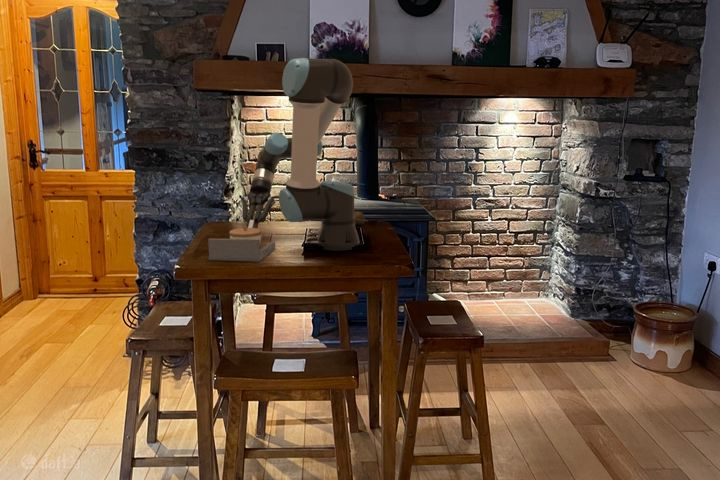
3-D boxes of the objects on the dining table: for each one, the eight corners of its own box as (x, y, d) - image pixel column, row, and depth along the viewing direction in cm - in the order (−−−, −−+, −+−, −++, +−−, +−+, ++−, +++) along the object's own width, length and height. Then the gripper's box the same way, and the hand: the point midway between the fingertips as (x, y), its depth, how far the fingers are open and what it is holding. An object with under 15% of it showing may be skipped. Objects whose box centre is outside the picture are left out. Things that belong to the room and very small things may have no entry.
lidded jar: (256, 257, 216) (255, 229, 214) (226, 256, 218) (224, 229, 216) (265, 249, 227) (264, 223, 225) (236, 249, 228) (235, 222, 226)
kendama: (329, 223, 276) (372, 225, 268) (319, 228, 267) (363, 230, 259) (328, 209, 275) (372, 211, 267) (318, 214, 266) (363, 216, 258)
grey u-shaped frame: (275, 248, 228) (274, 229, 226) (259, 261, 210) (258, 240, 208) (229, 247, 230) (228, 228, 229) (209, 260, 213) (208, 239, 211)
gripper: (281, 190, 242) (269, 243, 230) (247, 189, 244) (234, 242, 232) (276, 177, 236) (264, 231, 223) (242, 177, 238) (228, 231, 225)
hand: (249, 237), depth 228 cm, fingers closed
